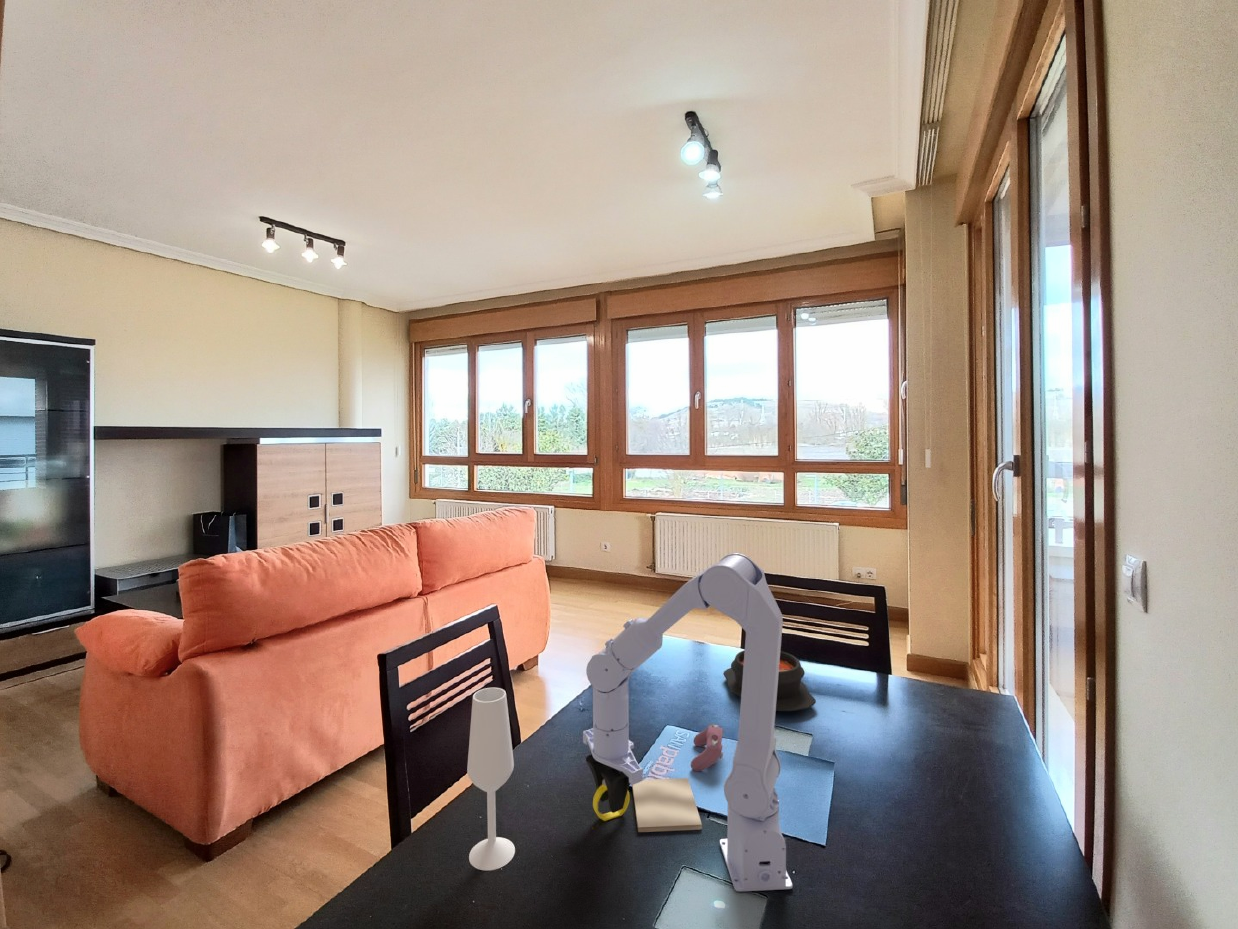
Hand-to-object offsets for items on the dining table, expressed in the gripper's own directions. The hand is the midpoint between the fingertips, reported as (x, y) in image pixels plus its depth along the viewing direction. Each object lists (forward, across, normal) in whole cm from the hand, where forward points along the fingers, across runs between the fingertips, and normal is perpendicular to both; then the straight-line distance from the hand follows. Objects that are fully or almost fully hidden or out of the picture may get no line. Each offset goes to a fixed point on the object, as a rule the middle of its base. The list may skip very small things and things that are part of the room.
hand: (611, 804), depth 91 cm
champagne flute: (+2, +3, +19) cm, 19 cm away
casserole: (+2, +15, -55) cm, 57 cm away
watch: (+2, 0, 0) cm, 2 cm away
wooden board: (+2, -3, -9) cm, 9 cm away
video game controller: (+2, +3, -24) cm, 25 cm away
